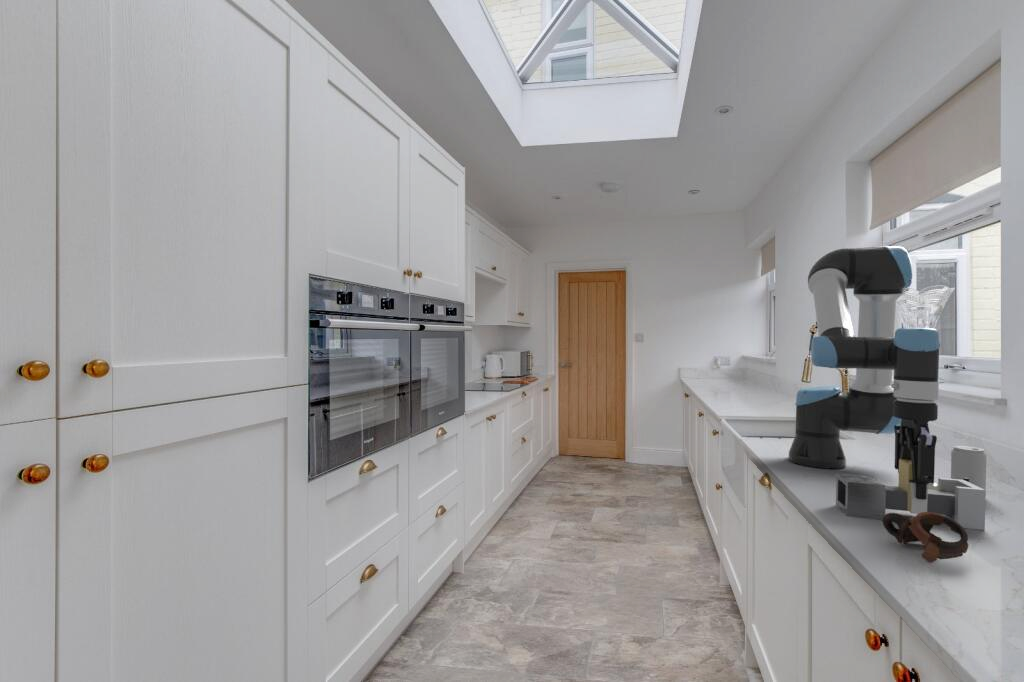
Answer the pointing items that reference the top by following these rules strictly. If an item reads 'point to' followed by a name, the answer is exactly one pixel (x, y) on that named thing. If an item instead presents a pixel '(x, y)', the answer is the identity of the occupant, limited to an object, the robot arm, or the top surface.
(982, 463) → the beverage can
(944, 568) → the top surface
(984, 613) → the top surface
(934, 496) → the two-tone stepped block
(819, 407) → the robot arm
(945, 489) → the socket
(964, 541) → the rusty metal ring bracket
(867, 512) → the gray block
